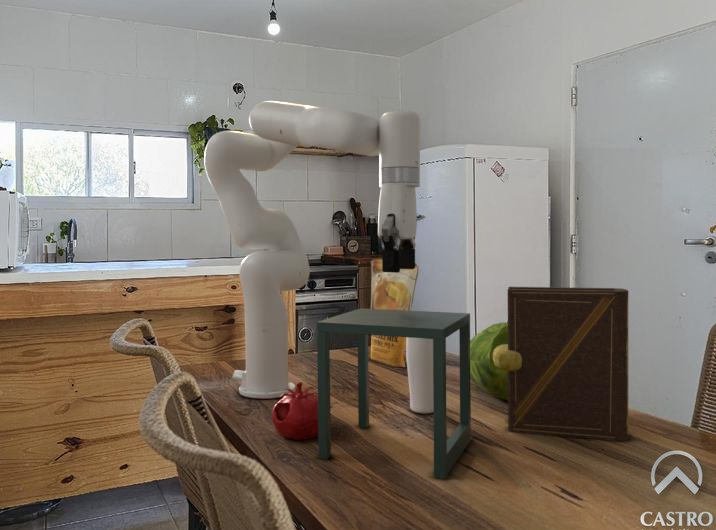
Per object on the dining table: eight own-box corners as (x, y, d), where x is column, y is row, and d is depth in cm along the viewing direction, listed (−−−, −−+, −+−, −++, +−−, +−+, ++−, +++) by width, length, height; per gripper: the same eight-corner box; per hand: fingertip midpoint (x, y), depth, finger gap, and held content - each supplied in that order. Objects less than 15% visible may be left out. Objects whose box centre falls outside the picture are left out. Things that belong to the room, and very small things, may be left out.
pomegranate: (327, 424, 111) (326, 374, 110) (329, 442, 101) (328, 388, 100) (273, 425, 110) (273, 375, 110) (270, 444, 100) (269, 389, 100)
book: (623, 428, 106) (623, 287, 105) (631, 444, 98) (631, 292, 97) (494, 417, 113) (493, 285, 113) (492, 431, 105) (491, 290, 105)
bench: (318, 458, 94) (316, 321, 93) (361, 424, 110) (360, 308, 109) (444, 479, 85) (443, 329, 85) (470, 439, 101) (470, 313, 101)
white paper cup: (441, 416, 114) (440, 338, 114) (405, 414, 116) (404, 337, 115) (441, 406, 121) (440, 332, 120) (407, 404, 122) (406, 331, 122)
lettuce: (480, 410, 139) (514, 353, 144) (545, 421, 117) (582, 354, 122) (427, 366, 137) (463, 310, 142) (483, 370, 115) (523, 303, 120)
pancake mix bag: (381, 354, 173) (380, 258, 173) (421, 367, 157) (420, 260, 156) (361, 357, 170) (360, 259, 169) (400, 370, 153) (399, 261, 153)
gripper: (394, 183, 121) (394, 267, 122) (364, 176, 105) (364, 273, 106) (430, 181, 118) (430, 268, 118) (405, 174, 102) (405, 274, 103)
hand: (399, 270), depth 112 cm, fingers open, 9 cm apart
